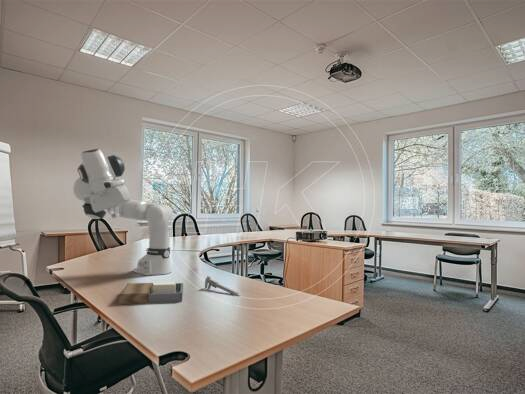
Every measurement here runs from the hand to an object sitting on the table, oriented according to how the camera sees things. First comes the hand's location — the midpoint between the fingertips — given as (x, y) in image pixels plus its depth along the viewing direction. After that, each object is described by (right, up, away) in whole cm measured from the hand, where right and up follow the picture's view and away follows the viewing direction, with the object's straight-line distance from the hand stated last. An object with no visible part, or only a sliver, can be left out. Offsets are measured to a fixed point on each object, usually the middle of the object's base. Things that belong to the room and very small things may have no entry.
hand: (116, 217), depth 134 cm
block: (+15, -31, +2) cm, 35 cm away
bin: (+21, -35, +3) cm, 41 cm away
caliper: (+43, -36, +12) cm, 58 cm away
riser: (+9, -34, +1) cm, 35 cm away
